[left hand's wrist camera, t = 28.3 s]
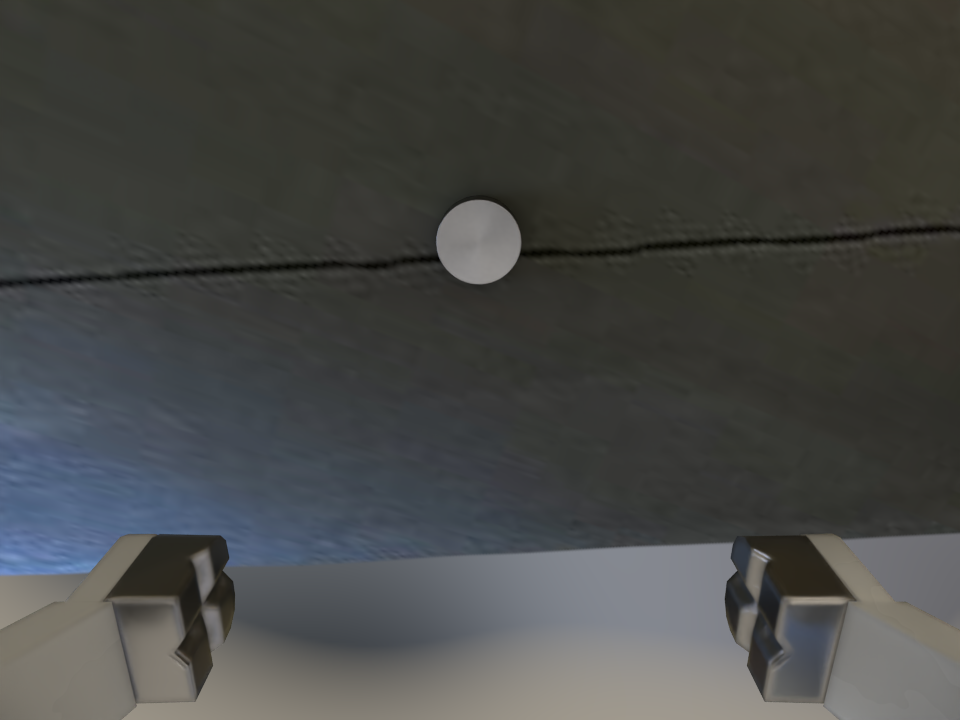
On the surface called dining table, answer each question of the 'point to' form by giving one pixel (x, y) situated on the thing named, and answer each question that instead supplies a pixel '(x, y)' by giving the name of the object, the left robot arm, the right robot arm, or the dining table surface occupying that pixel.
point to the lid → (478, 240)
